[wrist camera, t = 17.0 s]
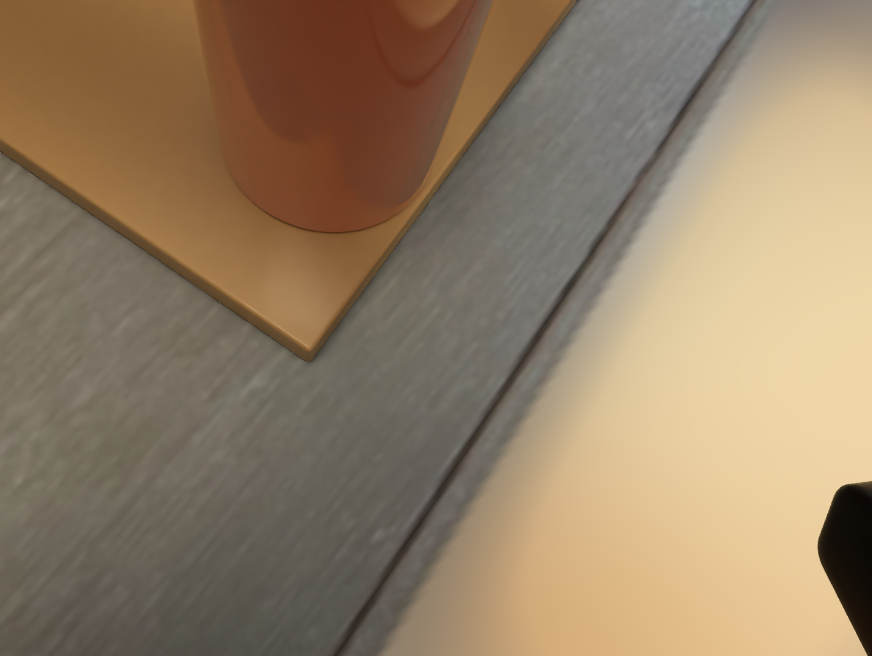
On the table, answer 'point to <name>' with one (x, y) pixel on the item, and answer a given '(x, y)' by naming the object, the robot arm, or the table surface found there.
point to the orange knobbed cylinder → (335, 100)
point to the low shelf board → (208, 151)
